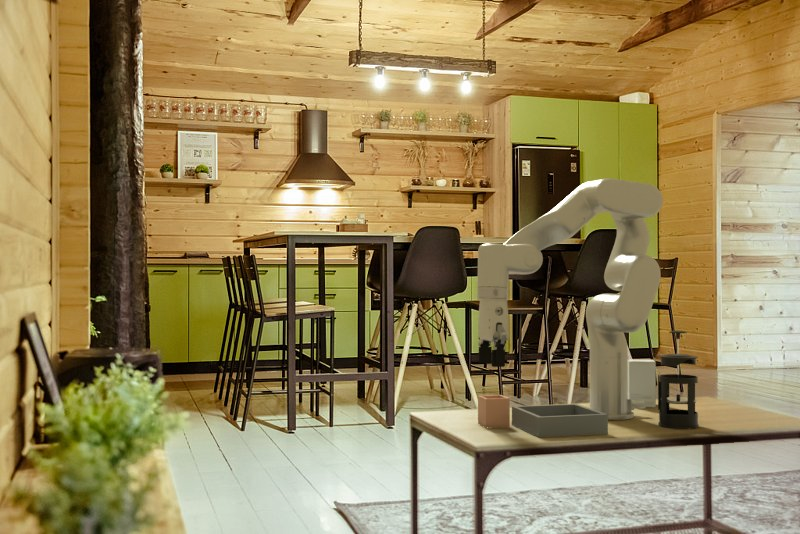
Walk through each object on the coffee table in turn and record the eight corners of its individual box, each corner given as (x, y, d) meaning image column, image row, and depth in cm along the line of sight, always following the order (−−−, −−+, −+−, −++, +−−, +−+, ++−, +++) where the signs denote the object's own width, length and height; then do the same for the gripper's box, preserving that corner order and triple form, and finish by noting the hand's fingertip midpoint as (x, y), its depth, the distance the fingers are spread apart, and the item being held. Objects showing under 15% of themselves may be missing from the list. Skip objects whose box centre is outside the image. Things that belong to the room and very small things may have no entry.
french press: (709, 427, 211) (709, 331, 211) (678, 430, 208) (677, 332, 208) (675, 420, 222) (675, 328, 222) (645, 423, 218) (645, 329, 219)
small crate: (501, 423, 219) (501, 394, 219) (509, 427, 213) (509, 398, 213) (478, 424, 218) (477, 395, 218) (486, 428, 212) (485, 399, 212)
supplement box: (656, 407, 243) (656, 361, 244) (628, 406, 245) (628, 361, 245) (654, 403, 251) (653, 359, 251) (627, 403, 252) (626, 358, 252)
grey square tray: (576, 422, 220) (576, 403, 220) (607, 434, 204) (607, 414, 204) (511, 424, 216) (511, 406, 216) (538, 437, 200) (538, 417, 200)
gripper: (520, 295, 208) (518, 368, 208) (495, 294, 225) (494, 361, 225) (489, 294, 206) (488, 368, 206) (467, 293, 223) (465, 361, 223)
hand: (491, 364), depth 215 cm, fingers open, 9 cm apart
